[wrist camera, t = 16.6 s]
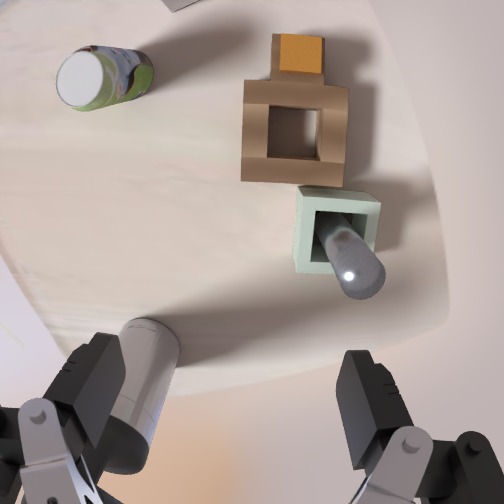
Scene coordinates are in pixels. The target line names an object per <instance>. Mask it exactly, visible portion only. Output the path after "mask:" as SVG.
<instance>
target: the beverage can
mask: <svg viewBox="0 0 504 504" xmlns="http://www.w3.org/2000/svg"><path fill="white" fill-rule="evenodd" d="M152 79H153V66H152V63H151V61H150V59H149V58H148V57H147V56H146V55H145V54H144V53H142V52H140V51H137V50H130V49H122V48H114V47H105V46H93V45H91V46H85V47H82V48H80V49H78V50H76V51H75V52H74V53H72V54H71V55H70V56H69V57H67V58H66V59H65V60H64V61H63V63H62V64H61V66H60V68H59V70H58V72H57V75H56V91H57V94H58V96H59V98H60V99H61V101H62V102H63V103H64V104H66V105H68V106H69V107H71V108H72V109H75V110H77V111H83V112H84V111H92V110H95V109H99V108H103V107H106V106H110V105H114V104H118V103H122V102H126V101H131V100H134V99H137V98H139V97H140V96H142V95H143V94H144V93H145V92H146V91H147V90H148V88H149V87H150V85H151V82H152Z"/></svg>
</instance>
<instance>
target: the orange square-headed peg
mask: <svg viewBox="0 0 504 504" xmlns="http://www.w3.org/2000/svg"><path fill="white" fill-rule="evenodd" d="M321 55H322V37H315V36H306V35H295V34H281V37H280V61H279V73H290V74H302V75H312V76H319V75H320V74H321Z"/></svg>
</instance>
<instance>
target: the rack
mask: <svg viewBox="0 0 504 504" xmlns="http://www.w3.org/2000/svg"><path fill="white" fill-rule="evenodd" d="M380 209H381V202H380V201H378V200H377V199H375V198H374V197H372V196H371V195H370V194H368V193H367V192H357V191H346V190H334V189H321V188H307V187H298V189H297V203H296V217H295V229H294V241H293V253H292V255H293V260H294V264H295V269H296V273H312V274H335V272H334V270H333V267H332V265H331V263H330V261H329V259H328V257H327V255H326V252H325V250H324V248H323V246H322V245H312V240H313V230H314V220H315V210H317V211H332V212H346V213H353V219H352V227H353V229H354V230H355V231H356V232H357V233H358V235H359V236H360V237H361V238H362V240H363V241H364V242H365V243H366V244H367V246H368V247H369V248H370V249H371V251H372V252H374V247H375V241H376V235H377V229H378V222H379V216H380Z"/></svg>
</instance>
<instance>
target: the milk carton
mask: <svg viewBox="0 0 504 504" xmlns="http://www.w3.org/2000/svg"><path fill="white" fill-rule="evenodd" d="M196 1H198V0H161V2H162V3H163V4H164V5H165V6H166V7H167V8H168V9H169V11H170V12H171V13H172V12H174V11H176V10H178V9H181V8H183V7H185V6H187V5H189V4H191V3H194V2H196Z"/></svg>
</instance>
